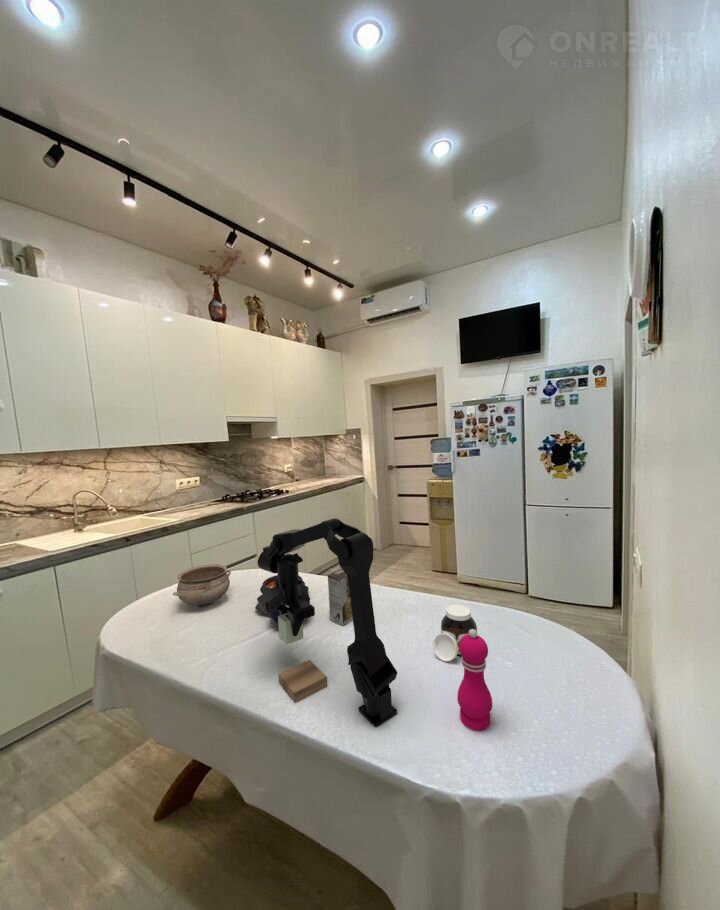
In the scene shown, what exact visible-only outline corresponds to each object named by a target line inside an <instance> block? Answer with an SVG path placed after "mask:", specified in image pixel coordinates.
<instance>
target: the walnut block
mask: <svg viewBox="0 0 720 910" xmlns="http://www.w3.org/2000/svg"><path fill="white" fill-rule="evenodd" d="M278 684H279V686H280V687H281V688H282V690H284V692H285V693H286V694H287V696H288V697H289V698H290V699H291V701H292V702H293V703H294V704H296V703H298V702H300V701H302V700H304V699H307V698H308V697H310V696H312V695H314V694H316V693H318V692H319V691H321V690H324V689H326V688H327V687H328V676H327V675H326V674H325V673H324V672H323V671H322V670H321V669H320V668H319V667H318V666H317V665H316V664H315V663H314V662H312V660H311V659H308V660H306V661H303V662H302V663H301V662H300V663H299V664H297V665H295V666H293V667H290V668H288V669H286V670H284V671H281V672H279V673H278Z"/></svg>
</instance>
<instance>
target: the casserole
mask: <svg viewBox="0 0 720 910" xmlns="http://www.w3.org/2000/svg"><path fill="white" fill-rule="evenodd" d="M299 579H301V580H302V584H303V585H304V586H305V587H306V588H307V591H309V590H310V589H309V588H310V587H309V586H307V585H306V582H305V581H304V580H303V578H302V576H301V575H299ZM275 580H278V575H277V574H275V575H273V576H270V577H268V578H266V579H265V580H264V581H263V582H262V583H261V586H260V588H259V591H260V593H261V595H262V594H264V593H265V592H266V591H268V590H269V589H270V588H273V587H274V582H275ZM254 608H255V610H256V611H257V612H260V613H265V612H264V611H263V610H262V609H261V607H260V605H259V603H258V602H257V604H256V606H255V607H254ZM265 614H266V613H265Z"/></svg>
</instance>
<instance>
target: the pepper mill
mask: <svg viewBox="0 0 720 910" xmlns="http://www.w3.org/2000/svg"><path fill="white" fill-rule="evenodd" d="M459 651H460V654H461V655H462V657H460V658H461V665H462V667H463V671H464V673H463V678H462V679H461V682H460V684H459V686H458V691H457V695H456V696H457V703H458V706H459V717H460V720H461V723H462V724H463V725H464V726H465V727H467V728H468V729H470V730H473V731H477V732H478V731H484V730H487V729H488V728H490V725H491V711H492V709H493V698H492V697H493V696H492V694H491V692H490V689H489V688H488V686H487V683H486V680H485V670H486V668H487V660H486V659H487V657H488V655H489V647H488V645H487V642H486V641H485V639H484V638H483V637H482V636H480V635H479V634H478V630H477V631H476V630H474V629H470V630H469V634H467V635H465V636H463V637H462V638H461V640H460V642H459Z"/></svg>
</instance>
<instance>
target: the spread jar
mask: <svg viewBox="0 0 720 910" xmlns="http://www.w3.org/2000/svg"><path fill="white" fill-rule="evenodd" d="M470 629H474V630H476V631H477V632H478V626H477V623H476V621H475V620H474V618H473V617H472V611H471V609H470V608H469V607H467V606H465V605H461V604H451V605H449V606H447V607H446V609H445V615H444V616H443V618H442V619H441V624H440V633H439V634H437V635H436V636H435V637H434V639H433V643H432V646H433V651H434V653H435V655H436V657H437V658H438V659H439V660H441V661H443V662H451V661H453V660H455V659H456V658H457V657H459V658H462V655H461V654H460V651H459V642H460V640H461V638H462V637H463V636H465V635H467V634H469V630H470Z"/></svg>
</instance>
